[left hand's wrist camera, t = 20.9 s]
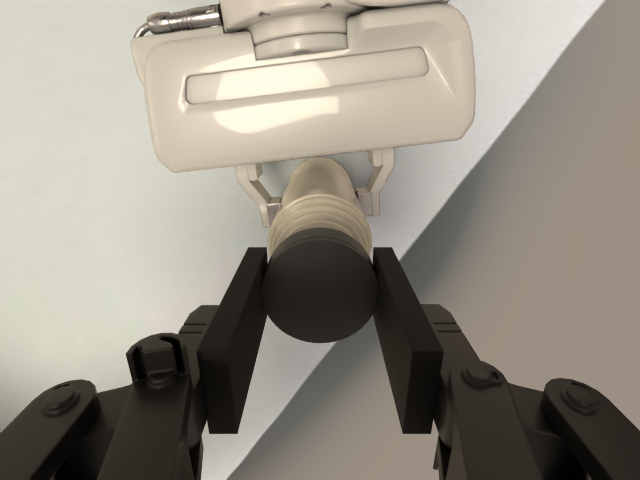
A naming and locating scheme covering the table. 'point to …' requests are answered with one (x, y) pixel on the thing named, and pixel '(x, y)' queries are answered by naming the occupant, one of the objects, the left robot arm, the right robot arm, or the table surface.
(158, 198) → the table surface
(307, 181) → the bottle
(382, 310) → the left robot arm
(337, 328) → the cap
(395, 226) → the table surface
